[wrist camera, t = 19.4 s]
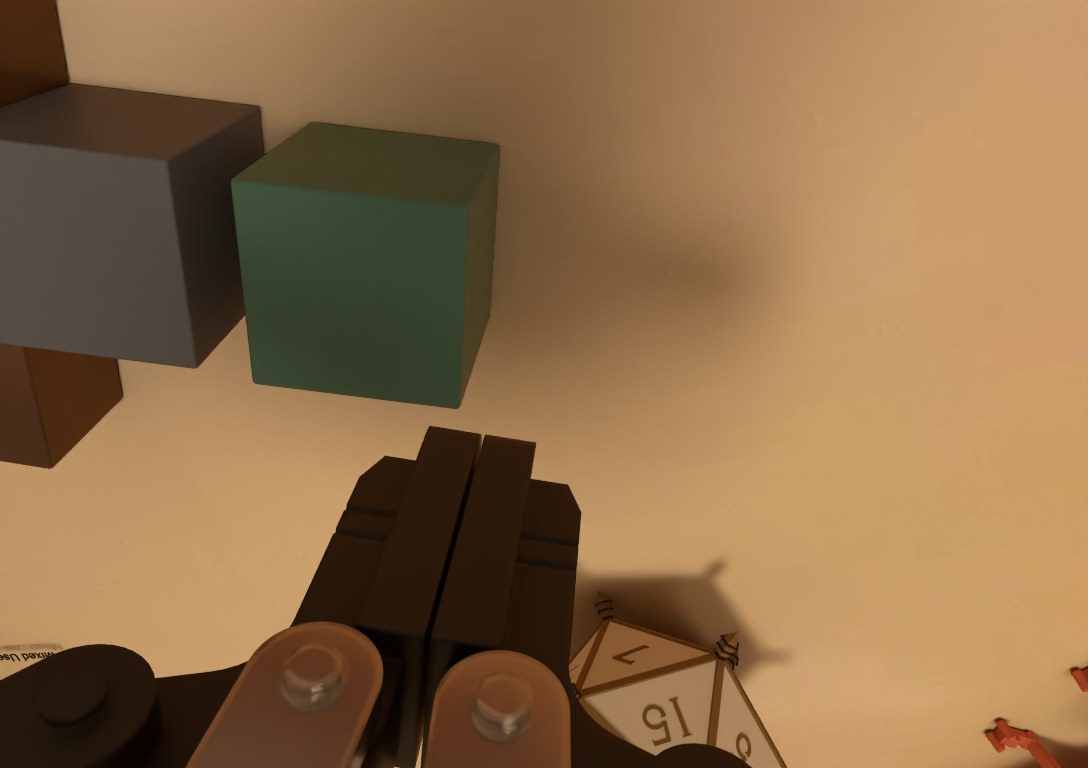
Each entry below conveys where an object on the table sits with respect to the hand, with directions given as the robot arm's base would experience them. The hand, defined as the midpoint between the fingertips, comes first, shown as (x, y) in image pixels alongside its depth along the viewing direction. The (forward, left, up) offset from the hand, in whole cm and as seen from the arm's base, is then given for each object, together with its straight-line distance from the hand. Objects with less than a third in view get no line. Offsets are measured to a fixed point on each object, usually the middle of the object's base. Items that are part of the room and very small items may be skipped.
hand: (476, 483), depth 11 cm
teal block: (0, -3, -10) cm, 11 cm away
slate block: (0, -9, -10) cm, 14 cm away
